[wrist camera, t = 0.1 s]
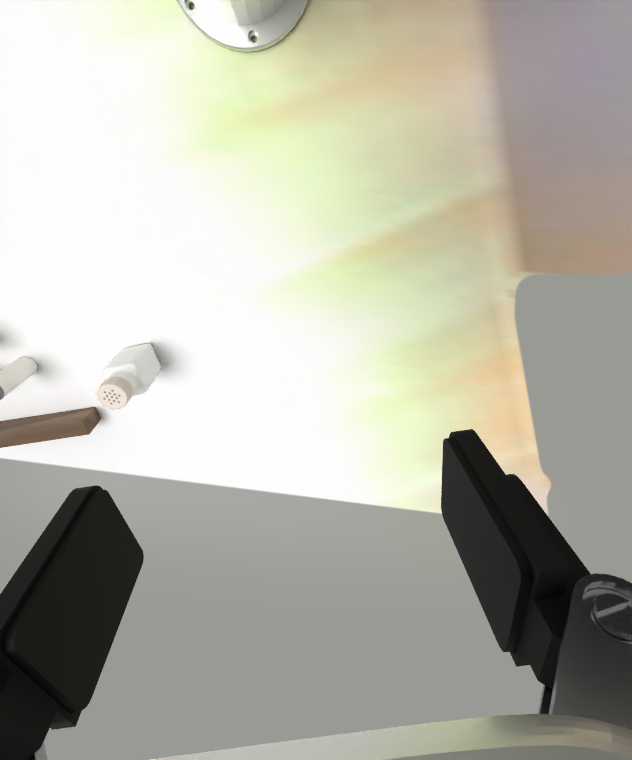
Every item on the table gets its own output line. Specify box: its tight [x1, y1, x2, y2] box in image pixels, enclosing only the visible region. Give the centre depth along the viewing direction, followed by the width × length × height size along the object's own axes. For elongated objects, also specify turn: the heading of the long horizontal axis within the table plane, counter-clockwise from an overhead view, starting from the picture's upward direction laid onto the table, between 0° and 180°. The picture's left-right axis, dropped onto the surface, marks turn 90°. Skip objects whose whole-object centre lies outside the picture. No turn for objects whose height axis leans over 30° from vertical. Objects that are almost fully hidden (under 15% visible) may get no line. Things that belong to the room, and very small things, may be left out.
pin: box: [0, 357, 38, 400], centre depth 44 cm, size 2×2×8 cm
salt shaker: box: [96, 344, 161, 409], centre depth 44 cm, size 4×4×10 cm
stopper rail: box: [0, 407, 101, 448], centre depth 50 cm, size 2×16×4 cm, turn 98°
